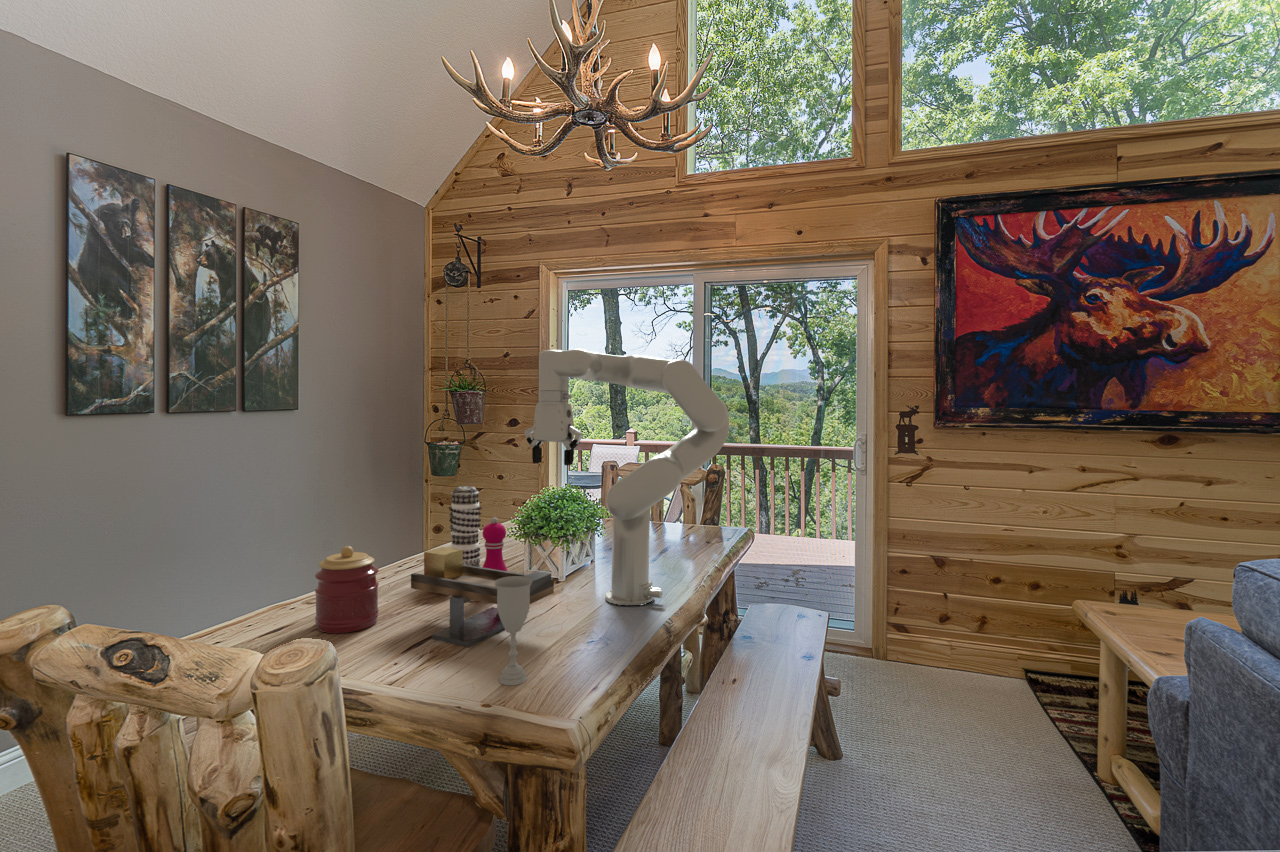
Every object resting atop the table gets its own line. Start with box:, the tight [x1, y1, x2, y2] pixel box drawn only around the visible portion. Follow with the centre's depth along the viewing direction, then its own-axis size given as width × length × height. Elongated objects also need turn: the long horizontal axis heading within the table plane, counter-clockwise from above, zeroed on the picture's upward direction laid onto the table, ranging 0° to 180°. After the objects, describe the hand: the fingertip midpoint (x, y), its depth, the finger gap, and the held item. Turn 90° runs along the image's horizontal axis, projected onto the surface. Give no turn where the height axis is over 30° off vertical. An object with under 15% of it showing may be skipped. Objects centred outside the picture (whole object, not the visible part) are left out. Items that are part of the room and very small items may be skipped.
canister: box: [314, 545, 380, 634], centre depth 143 cm, size 13×13×18 cm
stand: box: [431, 595, 528, 648], centre depth 142 cm, size 10×20×9 cm, turn 154°
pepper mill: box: [482, 517, 508, 571], centre depth 167 cm, size 7×7×20 cm
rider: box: [423, 546, 463, 579], centre depth 146 cm, size 6×6×6 cm
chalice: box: [495, 576, 533, 686], centre depth 116 cm, size 7×7×18 cm
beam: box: [410, 564, 555, 605], centre depth 141 cm, size 30×13×6 cm, turn 65°
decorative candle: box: [448, 485, 483, 567], centre depth 187 cm, size 9×9×25 cm
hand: (552, 463), depth 166 cm, fingers open, 9 cm apart
